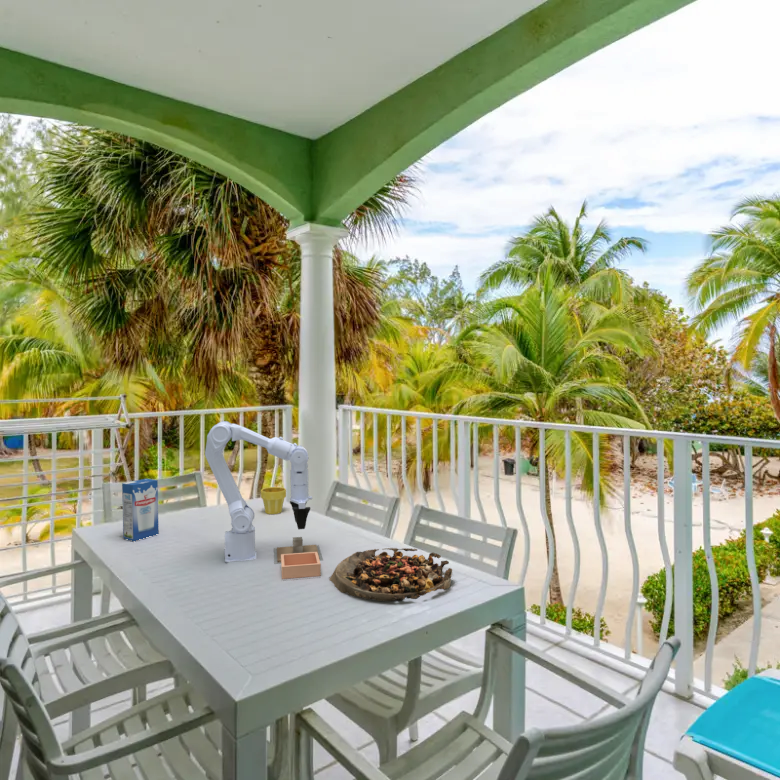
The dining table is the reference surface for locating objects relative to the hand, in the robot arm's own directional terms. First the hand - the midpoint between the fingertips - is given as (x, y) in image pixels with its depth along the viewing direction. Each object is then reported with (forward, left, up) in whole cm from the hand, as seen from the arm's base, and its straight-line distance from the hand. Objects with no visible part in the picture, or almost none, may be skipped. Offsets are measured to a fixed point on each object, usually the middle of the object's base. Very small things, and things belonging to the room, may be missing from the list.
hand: (300, 525), depth 180 cm
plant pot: (-8, +56, -10) cm, 57 cm away
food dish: (+24, -27, -10) cm, 37 cm away
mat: (-1, -1, -10) cm, 10 cm away
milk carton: (-55, +32, -10) cm, 64 cm away
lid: (-1, -1, -9) cm, 9 cm away
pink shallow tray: (-1, -16, -10) cm, 19 cm away
